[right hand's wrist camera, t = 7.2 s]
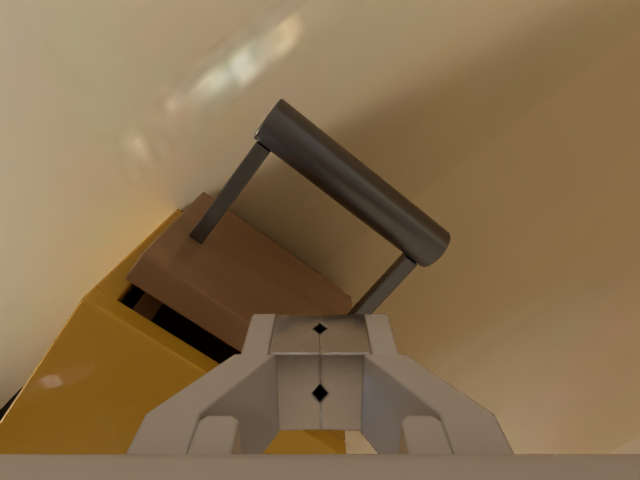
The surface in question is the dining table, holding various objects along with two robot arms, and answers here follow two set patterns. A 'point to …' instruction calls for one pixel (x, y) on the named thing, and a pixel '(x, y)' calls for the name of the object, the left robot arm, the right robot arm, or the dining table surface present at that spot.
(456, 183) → the dining table surface
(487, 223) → the dining table surface
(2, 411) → the left robot arm
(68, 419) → the cabinet
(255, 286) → the drawer
